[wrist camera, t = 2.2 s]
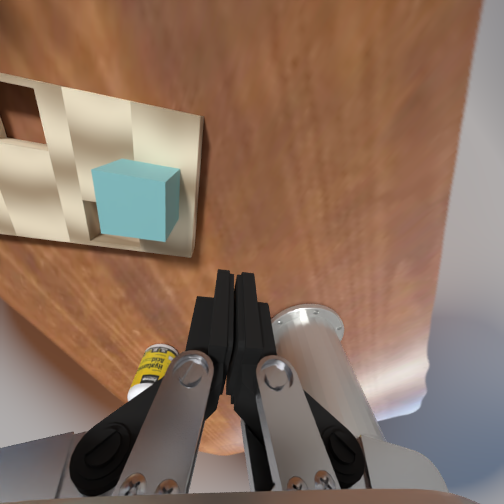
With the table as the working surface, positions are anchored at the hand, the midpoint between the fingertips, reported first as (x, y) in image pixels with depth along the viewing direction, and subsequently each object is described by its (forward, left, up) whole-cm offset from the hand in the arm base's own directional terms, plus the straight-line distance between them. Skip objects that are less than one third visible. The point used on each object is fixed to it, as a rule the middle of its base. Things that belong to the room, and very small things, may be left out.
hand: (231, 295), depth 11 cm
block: (0, +8, -14) cm, 16 cm away
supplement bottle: (-28, +8, -17) cm, 34 cm away
